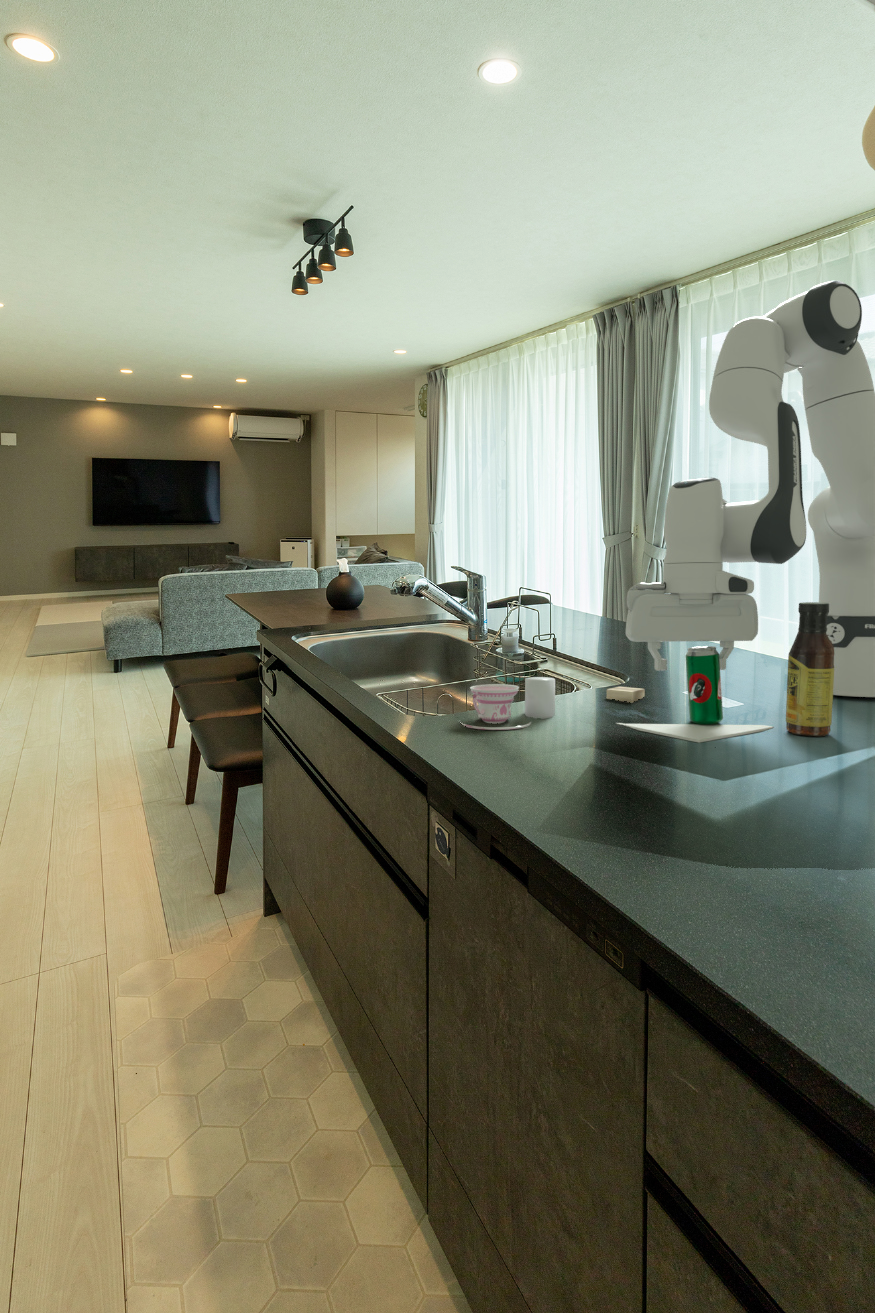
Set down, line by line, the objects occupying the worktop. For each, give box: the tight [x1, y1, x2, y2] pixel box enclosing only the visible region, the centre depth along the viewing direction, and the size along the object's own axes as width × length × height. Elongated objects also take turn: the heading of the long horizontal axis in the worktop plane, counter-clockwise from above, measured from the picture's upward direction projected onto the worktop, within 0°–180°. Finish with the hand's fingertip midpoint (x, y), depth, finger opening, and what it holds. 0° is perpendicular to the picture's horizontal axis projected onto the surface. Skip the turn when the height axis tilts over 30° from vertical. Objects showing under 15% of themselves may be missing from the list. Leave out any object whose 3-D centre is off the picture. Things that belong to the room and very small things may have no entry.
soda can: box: [685, 645, 724, 725], centre depth 118 cm, size 5×5×12 cm
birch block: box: [606, 686, 646, 704], centre depth 134 cm, size 5×5×4 cm
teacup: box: [459, 683, 532, 731], centre depth 121 cm, size 12×12×6 cm
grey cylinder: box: [524, 676, 556, 720], centre depth 124 cm, size 5×5×7 cm
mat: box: [616, 722, 774, 743], centre depth 118 cm, size 18×18×1 cm
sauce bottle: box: [785, 601, 834, 737], centre depth 111 cm, size 7×6×20 cm
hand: (689, 670), depth 117 cm, fingers open, 8 cm apart
